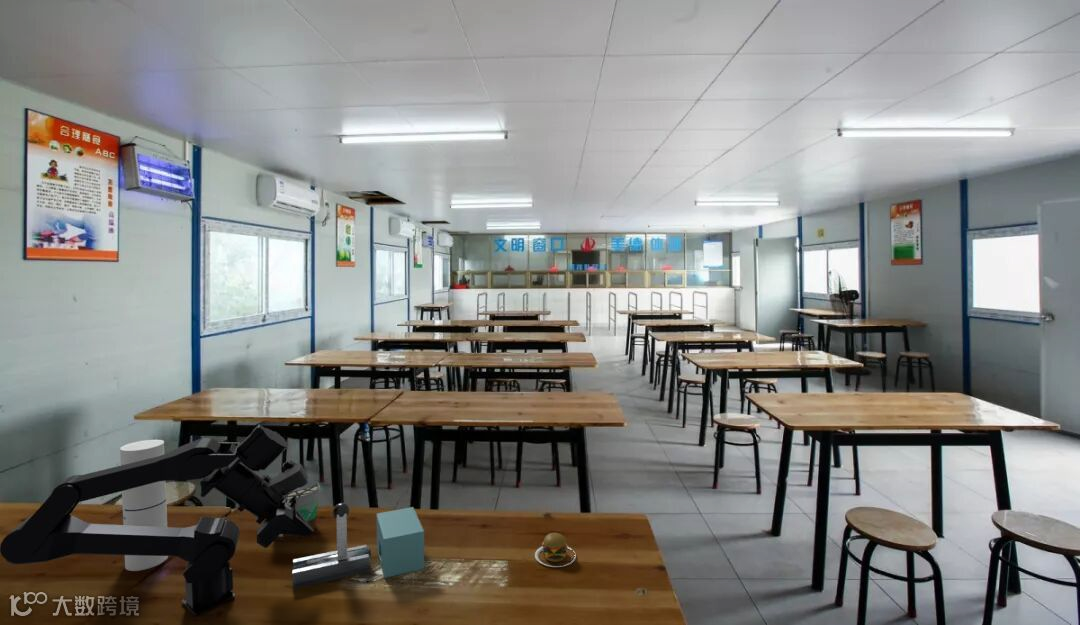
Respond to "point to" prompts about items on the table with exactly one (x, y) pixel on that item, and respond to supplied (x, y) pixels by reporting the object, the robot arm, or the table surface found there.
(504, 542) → the table surface
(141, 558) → the cylindrical container
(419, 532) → the socket block
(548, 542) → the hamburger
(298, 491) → the food container
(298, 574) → the outer sleeve
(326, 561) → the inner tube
